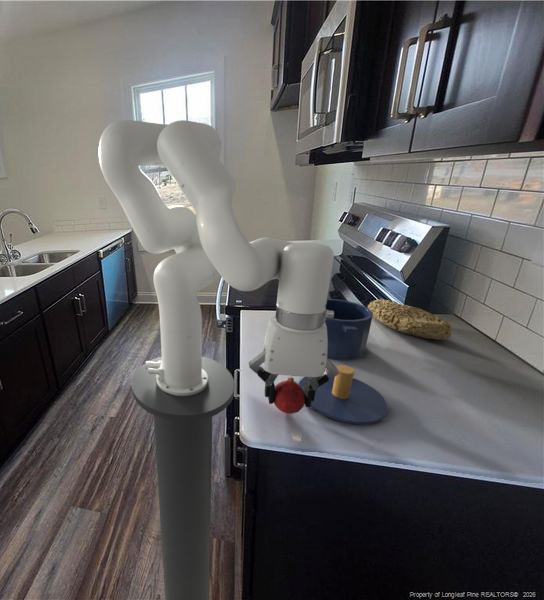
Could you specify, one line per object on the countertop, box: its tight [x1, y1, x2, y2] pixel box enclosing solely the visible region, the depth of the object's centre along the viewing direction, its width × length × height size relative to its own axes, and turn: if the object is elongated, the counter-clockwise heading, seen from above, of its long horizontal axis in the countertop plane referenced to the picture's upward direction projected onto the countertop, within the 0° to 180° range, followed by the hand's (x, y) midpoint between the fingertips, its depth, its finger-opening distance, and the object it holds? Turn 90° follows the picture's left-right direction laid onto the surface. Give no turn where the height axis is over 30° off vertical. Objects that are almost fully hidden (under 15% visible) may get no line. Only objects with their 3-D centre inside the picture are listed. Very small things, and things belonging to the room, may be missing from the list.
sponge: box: [367, 298, 452, 341], centre depth 89 cm, size 13×8×20 cm
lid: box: [297, 364, 389, 425], centre depth 64 cm, size 16×16×7 cm
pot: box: [325, 297, 373, 361], centre depth 83 cm, size 15×20×10 cm
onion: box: [273, 376, 305, 415], centre depth 61 cm, size 6×6×8 cm
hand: (288, 400), depth 61 cm, fingers closed on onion, 5 cm apart
